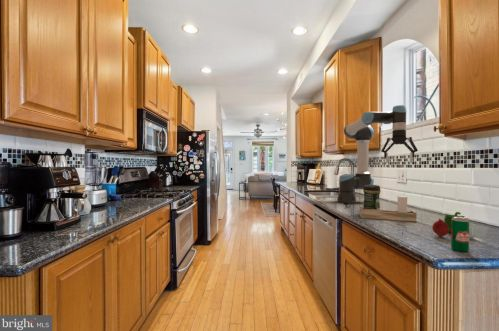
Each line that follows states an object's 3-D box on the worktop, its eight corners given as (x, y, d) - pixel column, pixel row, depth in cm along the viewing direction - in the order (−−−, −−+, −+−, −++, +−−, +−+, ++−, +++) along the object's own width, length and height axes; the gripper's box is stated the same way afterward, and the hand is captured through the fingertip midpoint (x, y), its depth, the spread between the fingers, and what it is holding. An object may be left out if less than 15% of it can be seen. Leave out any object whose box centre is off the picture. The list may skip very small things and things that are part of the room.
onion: (451, 237, 107) (451, 219, 107) (445, 239, 104) (445, 220, 104) (436, 234, 112) (436, 216, 112) (429, 236, 109) (429, 217, 109)
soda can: (456, 252, 89) (457, 218, 89) (447, 247, 94) (448, 215, 94) (472, 253, 88) (473, 219, 88) (462, 248, 93) (463, 216, 93)
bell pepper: (442, 229, 120) (443, 209, 120) (465, 232, 116) (465, 210, 116) (445, 233, 113) (445, 211, 113) (469, 236, 109) (469, 213, 109)
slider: (397, 213, 146) (397, 195, 146) (405, 214, 145) (405, 196, 145) (399, 215, 142) (399, 196, 142) (407, 215, 140) (407, 197, 140)
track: (359, 214, 155) (359, 206, 155) (411, 218, 146) (411, 209, 146) (361, 218, 146) (361, 209, 146) (417, 221, 136) (417, 212, 136)
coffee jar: (360, 212, 161) (361, 184, 161) (368, 211, 165) (368, 183, 165) (374, 215, 153) (374, 185, 153) (382, 214, 157) (382, 184, 157)
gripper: (378, 129, 161) (378, 162, 161) (423, 128, 152) (423, 162, 153) (376, 131, 168) (376, 162, 168) (420, 129, 159) (419, 163, 160)
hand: (398, 162), depth 160 cm, fingers open, 13 cm apart
